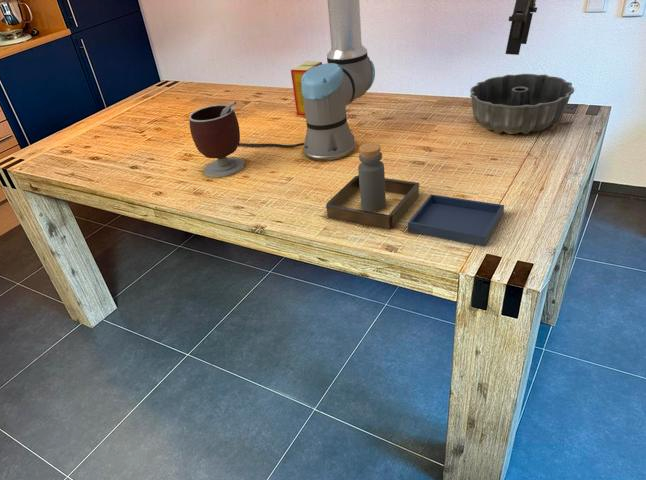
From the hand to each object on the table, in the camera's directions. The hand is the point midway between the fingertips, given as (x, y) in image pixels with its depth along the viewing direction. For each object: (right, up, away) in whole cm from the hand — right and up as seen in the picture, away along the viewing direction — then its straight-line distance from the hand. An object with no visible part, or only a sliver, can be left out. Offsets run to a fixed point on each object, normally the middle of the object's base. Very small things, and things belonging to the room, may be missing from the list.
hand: (516, 48), depth 116 cm
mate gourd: (-70, -20, +37) cm, 82 cm away
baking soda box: (-43, +7, +66) cm, 79 cm away
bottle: (-32, -35, +5) cm, 48 cm away
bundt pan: (+14, -8, +30) cm, 35 cm away
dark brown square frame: (-32, -35, +5) cm, 48 cm away
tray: (-16, -40, -6) cm, 44 cm away
